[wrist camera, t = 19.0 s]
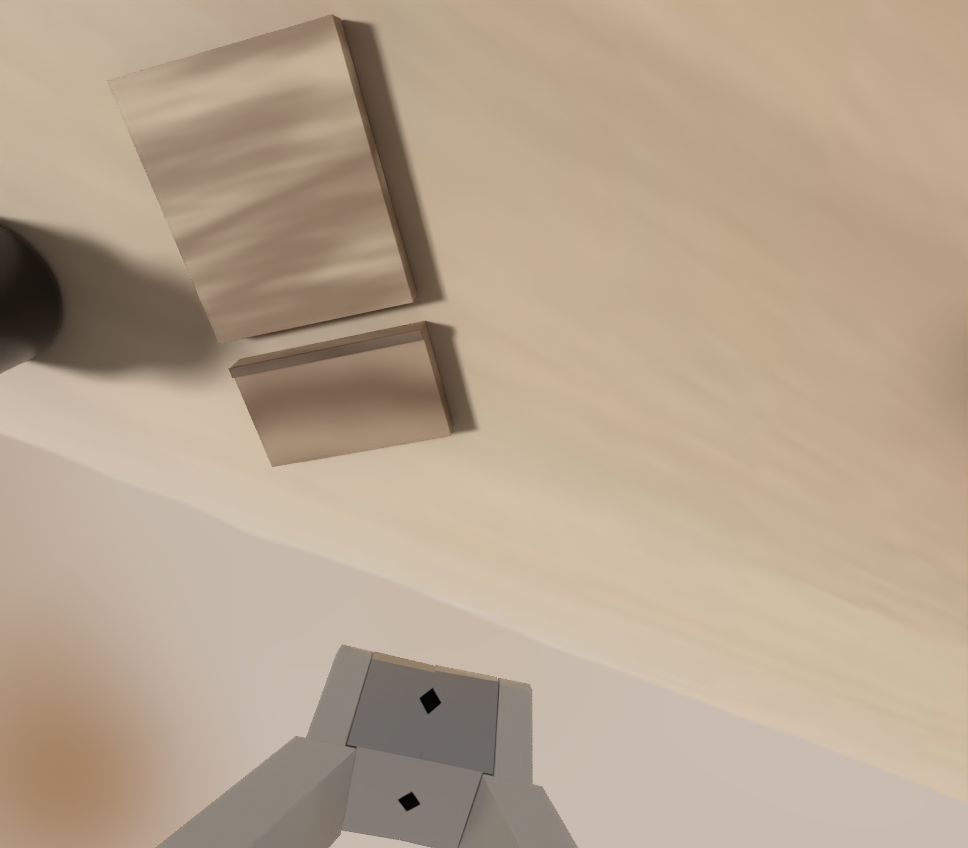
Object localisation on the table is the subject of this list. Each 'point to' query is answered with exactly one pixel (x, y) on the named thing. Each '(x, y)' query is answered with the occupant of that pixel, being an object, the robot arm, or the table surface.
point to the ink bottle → (25, 302)
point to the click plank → (270, 180)
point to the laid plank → (345, 395)
